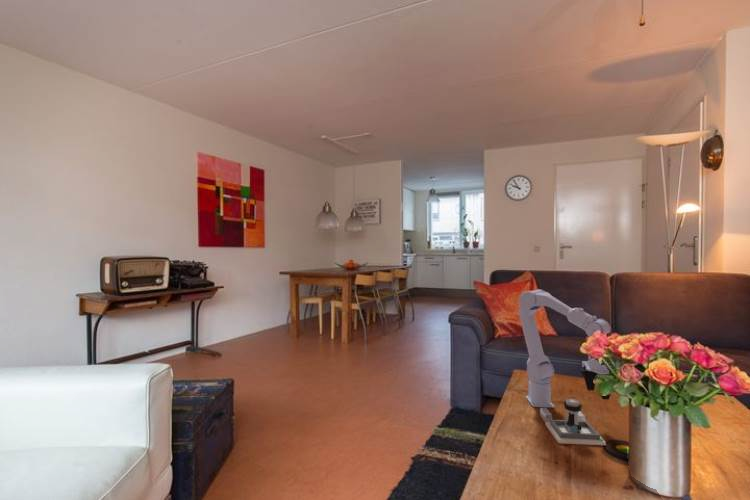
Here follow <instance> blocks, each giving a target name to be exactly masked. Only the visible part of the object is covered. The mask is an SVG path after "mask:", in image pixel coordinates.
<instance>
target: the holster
mask: <svg viewBox="0 0 750 500" xmlns="http://www.w3.org/2000/svg"><path fill="white" fill-rule="evenodd" d="M539 409H540V412H539V413H540V414H539V415H540V418H541V419H542V420H543V422H544V423H545V424H546V422H550V420H553V415H552V413H551V412H550V411H549V410H548V407H539ZM578 421H586V415H585V414H583V412H582V410H581V411H579V412H578Z"/></svg>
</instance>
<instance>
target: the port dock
mask: <svg viewBox="0 0 750 500" xmlns="http://www.w3.org/2000/svg"><path fill="white" fill-rule="evenodd" d="M565 421H567V419H566V420H565V419H552V420H550V422H546V423H545V426H546V427H547V429H548V431H549V432H550V433H551V435H552V437H553V438H554V439H555V440H556V442H557V443H558V444H565V445H566V444H567V445H594V446H607V444H606V443H607V442H606V441H605V440H604V438H603V437H601V435H600V433H599V432H598V431H597V430H596V429H595V428H594V427H593V426H592V425H591V424H590V423H589V422H588V421H587V420H585V421H578V424H579V425H581V431H583V432H584V433H581V432H580V433H572V432H569V431H568V430H567V429H565Z"/></svg>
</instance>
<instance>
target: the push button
mask: <svg viewBox="0 0 750 500" xmlns="http://www.w3.org/2000/svg"><path fill="white" fill-rule="evenodd" d="M563 406H564V409H566V411H567V413H566V417H567V418H566V420H567V421H565V429H567V430H568V431H569V432H572V433H580V432H581V433H584V432H583V431H581V425H579V424H578V412H579V411H581V412H582V407H583V405H582V404H581V403H580V401H578V400H577V399H574V398H567V399H566V400H565V401H563Z"/></svg>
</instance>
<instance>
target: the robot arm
mask: <svg viewBox="0 0 750 500" xmlns="http://www.w3.org/2000/svg"><path fill="white" fill-rule="evenodd" d="M518 302H519V305H518V316H519V319H520V322H521V323H520V324H521V327H522V331H523V336H524V339H525V344H526V348H527V352H528V355H529V357H528V359H527V361H526V375H527V378H528V395H526V396H525V397H526V400H528V402H529V404H530V405H531V406H532V407H533V408H553V409H554V408H555V405H554V404H553V403H552V400H551V398H552V397H551V395H552V393H551V387H552V386H551V385H552V384H551V382H552V377H553V376H554V375H555V368H554V366H553V364H552V363H551V361H550V358H549V357H548V356H547V355H546V354H545V353H544V349H543V345H542V341H541V337H540V333H539V329H538V326H537V322H536V317H535V314H536V313H537V311H538V310H539V309H540V308H541V307H547V308H550V309H552V310H554V311H555V312H558V313H559V314H561V315H564V316H565V317H566V318H567V321H568V322H570V323H571V324H573V325H575V326H576V327H578V328H580V329H582V330H583V331H585V334H586V335H587V337H588V338H589V337H590V336H591V335H592V334H593V333H594V332H595V331H597V330H600V331H602V332H603V333H607V332H608V333H609V334H610V333H611V331H612V327H611V325H610V323H609V322H608V321H607V320H605V318H597V316H596V315H591V314H590V313H588V312H586V311H584V310H585V309H584V308H582V307H574V308H572V307H570V306H568V305H567V304H565V303H564V302H563V301H561V300H559V299H558V298H556V297H555V296H553V295H551V293H550V292H547V291H545V290H543V289H539V288H538V289H536V290H525V291H523V292H522V293H521V294H520V296H519V297H518ZM590 359H591V357H590V356H589V355H588V360H587V361H584V360H583V361H581V368H580V369H579V372H580V373H581V375H582V376H583V379H584V381H585V386H586V389H587V391H595V388H596V387H595V386H596V383H595V384H594V383H593V379H594V378H595V376H596V375H597V376H598V375H599V374H609V370H608V369H609V368H608V369H607V367H606V366H605V365H601V364H599V363H598V361H597V360H593V361H589V360H590ZM597 376H596V377H597ZM611 393H612V392H611ZM611 393H610V394H609V395H607V396H601V399H602V400H610V397H611Z"/></svg>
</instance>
